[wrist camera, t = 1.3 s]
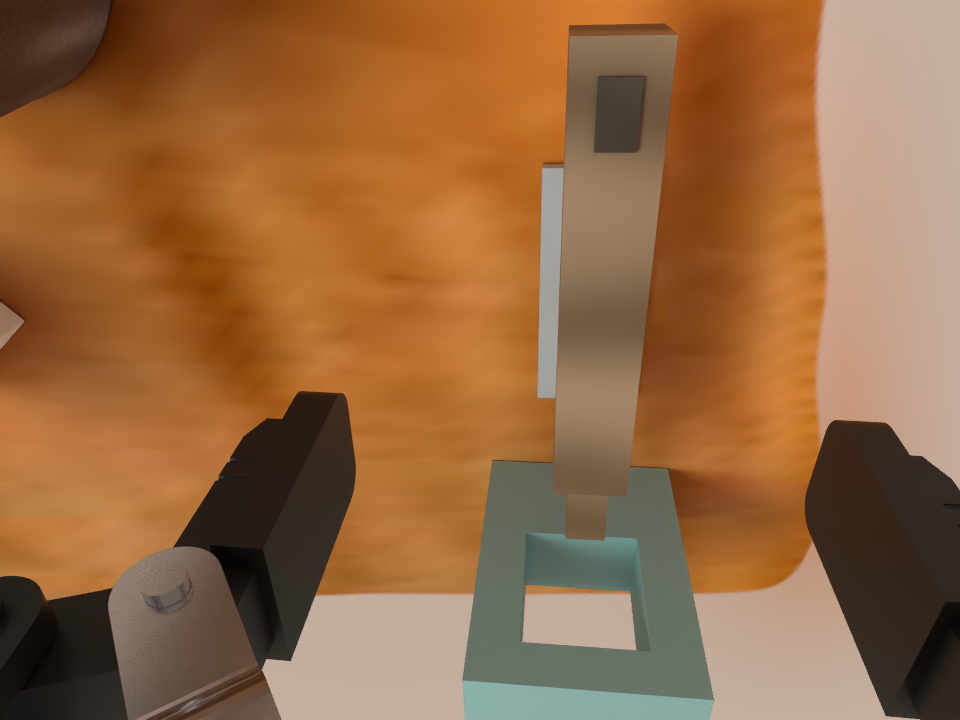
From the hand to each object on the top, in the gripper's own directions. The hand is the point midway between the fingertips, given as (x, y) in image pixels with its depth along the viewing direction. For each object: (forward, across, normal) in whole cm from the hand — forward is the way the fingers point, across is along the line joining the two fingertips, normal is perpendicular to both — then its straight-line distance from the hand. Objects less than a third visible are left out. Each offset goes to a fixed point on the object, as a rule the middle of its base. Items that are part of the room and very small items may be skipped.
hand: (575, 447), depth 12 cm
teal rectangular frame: (+18, -2, +18) cm, 26 cm away
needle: (+13, -1, +4) cm, 14 cm away
